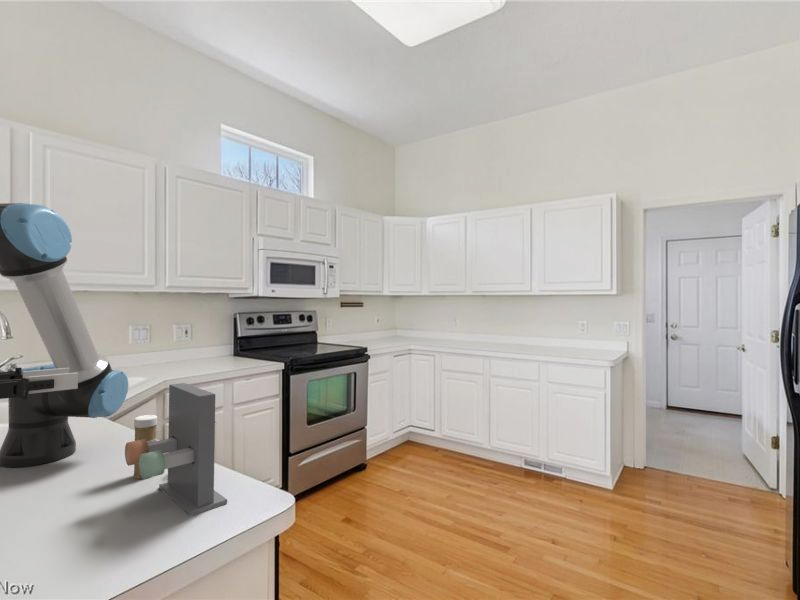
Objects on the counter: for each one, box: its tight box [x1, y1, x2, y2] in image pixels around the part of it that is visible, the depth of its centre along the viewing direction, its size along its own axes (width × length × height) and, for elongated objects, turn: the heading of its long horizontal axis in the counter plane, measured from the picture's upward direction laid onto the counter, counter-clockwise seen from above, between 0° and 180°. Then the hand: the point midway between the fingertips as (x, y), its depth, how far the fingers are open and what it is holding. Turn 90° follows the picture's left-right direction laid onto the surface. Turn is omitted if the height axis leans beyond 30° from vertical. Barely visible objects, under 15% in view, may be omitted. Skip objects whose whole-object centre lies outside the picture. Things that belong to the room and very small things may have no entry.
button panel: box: [158, 382, 228, 516], centre depth 89 cm, size 17×7×22 cm, turn 47°
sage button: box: [139, 447, 195, 480], centre depth 82 cm, size 4×12×4 cm, turn 137°
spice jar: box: [133, 414, 158, 479], centre depth 98 cm, size 5×5×14 cm
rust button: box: [124, 437, 177, 466], centre depth 88 cm, size 4×12×4 cm, turn 137°
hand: (72, 377), depth 78 cm, fingers open, 7 cm apart
